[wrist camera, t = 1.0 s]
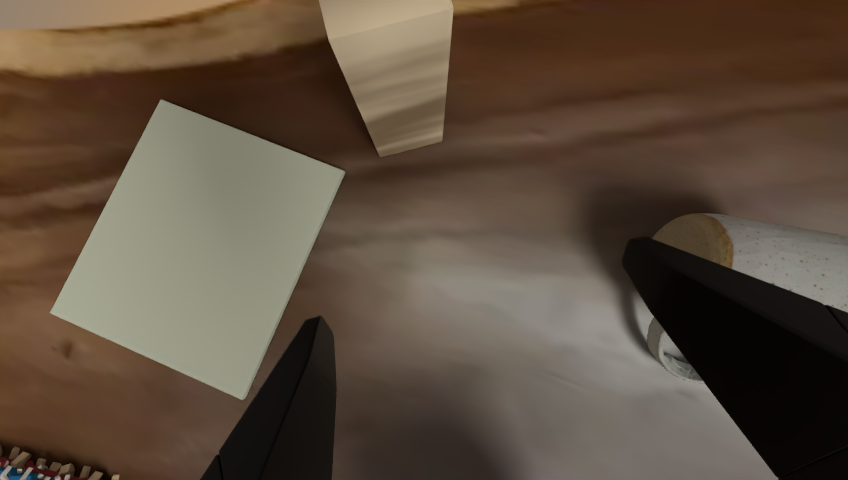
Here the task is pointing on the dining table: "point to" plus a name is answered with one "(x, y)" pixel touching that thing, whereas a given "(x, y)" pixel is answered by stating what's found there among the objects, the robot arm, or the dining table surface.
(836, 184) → the dining table surface
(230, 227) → the sage placemat
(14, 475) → the woven mat
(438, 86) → the beige rectangular block
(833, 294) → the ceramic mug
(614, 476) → the dining table surface
